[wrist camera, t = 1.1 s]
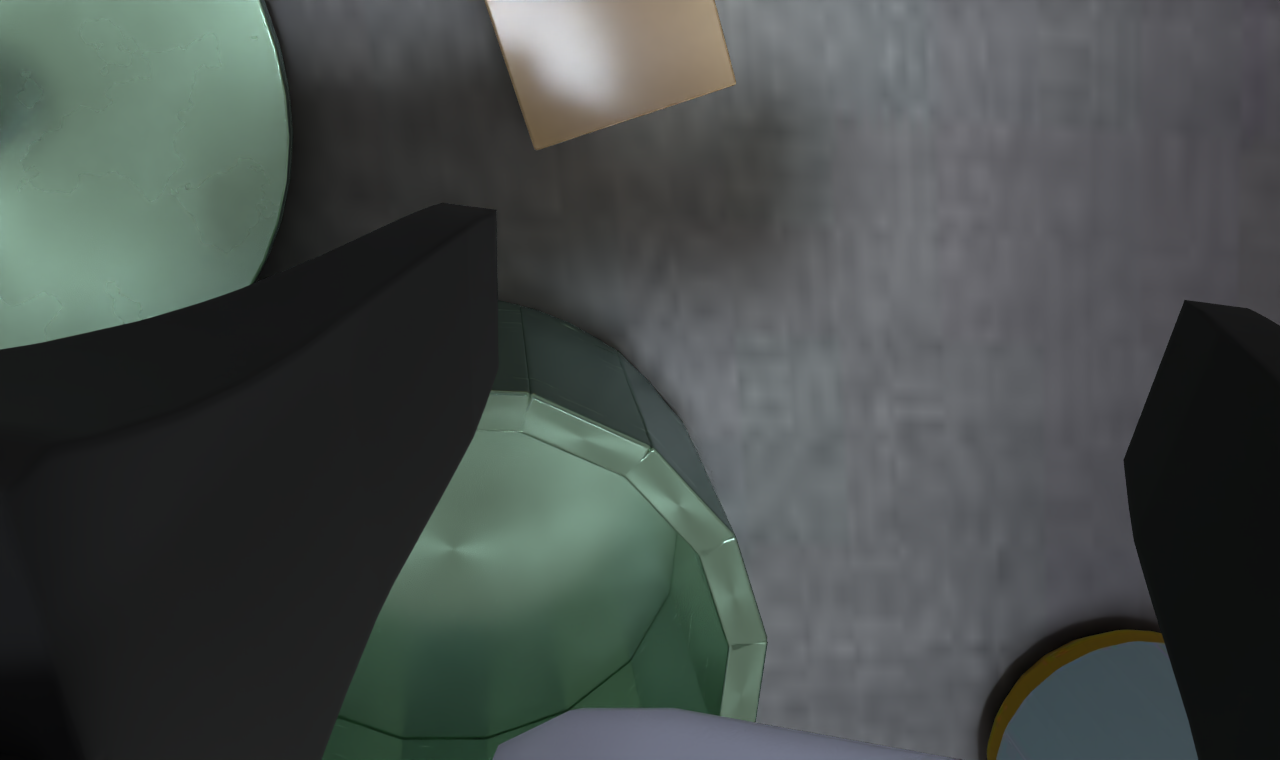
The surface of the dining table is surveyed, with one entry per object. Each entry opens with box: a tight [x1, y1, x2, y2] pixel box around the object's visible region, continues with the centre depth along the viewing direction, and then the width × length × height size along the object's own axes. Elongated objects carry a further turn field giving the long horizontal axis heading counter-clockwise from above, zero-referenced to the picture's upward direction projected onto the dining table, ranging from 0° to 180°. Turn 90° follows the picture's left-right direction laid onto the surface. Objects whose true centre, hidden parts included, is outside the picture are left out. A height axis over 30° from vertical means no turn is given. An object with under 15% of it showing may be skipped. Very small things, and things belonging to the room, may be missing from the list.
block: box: [484, 0, 736, 150], centre depth 22 cm, size 4×4×4 cm
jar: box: [321, 301, 768, 760], centre depth 25 cm, size 13×13×6 cm
